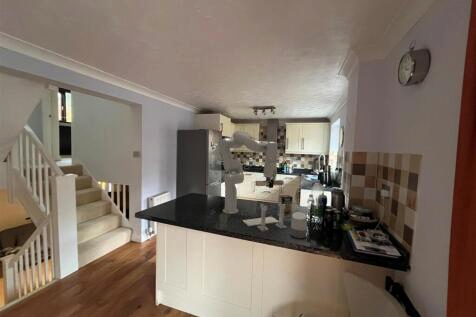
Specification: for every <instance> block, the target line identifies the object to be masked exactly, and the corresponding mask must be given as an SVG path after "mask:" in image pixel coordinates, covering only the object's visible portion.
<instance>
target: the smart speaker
mask: <svg viewBox="0 0 476 317" xmlns="http://www.w3.org/2000/svg"><path fill="white" fill-rule="evenodd" d="M307 219H308V216H307V214H306V213H304V212H300V211H296V212H294V213H293V212H292V217H291V223H290V234H291V236H292V237H293V238H295V239H300V240H302V239H304V238H306V237H307V235H308V220H307Z"/></svg>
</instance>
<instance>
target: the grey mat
mask: <svg viewBox="0 0 476 317" xmlns="http://www.w3.org/2000/svg"><path fill="white" fill-rule="evenodd" d="M242 221H243V223H244V224H246V226H248V227H251V226H252V227H255V226H261V217H258V218H250V219H242ZM274 223H275V224H277V223H279V219H276V218H275V217H273V216H267V217H266V216H265V225H267V224H274Z"/></svg>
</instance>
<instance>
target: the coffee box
mask: <svg viewBox="0 0 476 317" xmlns="http://www.w3.org/2000/svg"><path fill="white" fill-rule="evenodd" d="M293 198H294V197H293V196H291V195H289V194H287V195H286V194H284V195H278V199H277V200H278V202H282V204H286V206H285V209H284V218H283V219H289V218H292V214H293V200H294V199H293ZM278 202H277V203H278ZM279 213H280V207H278V206H277V216H278V217H279Z"/></svg>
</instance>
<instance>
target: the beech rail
mask: <svg viewBox="0 0 476 317" xmlns="http://www.w3.org/2000/svg"><path fill="white" fill-rule="evenodd" d="M269 182H270V180H266V179H265V180H255V183H254V184H255V186H256V187H266V186H269ZM284 185H285V184H284V180H283V179H275V180H274V184H273V187H274V186H284Z"/></svg>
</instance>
